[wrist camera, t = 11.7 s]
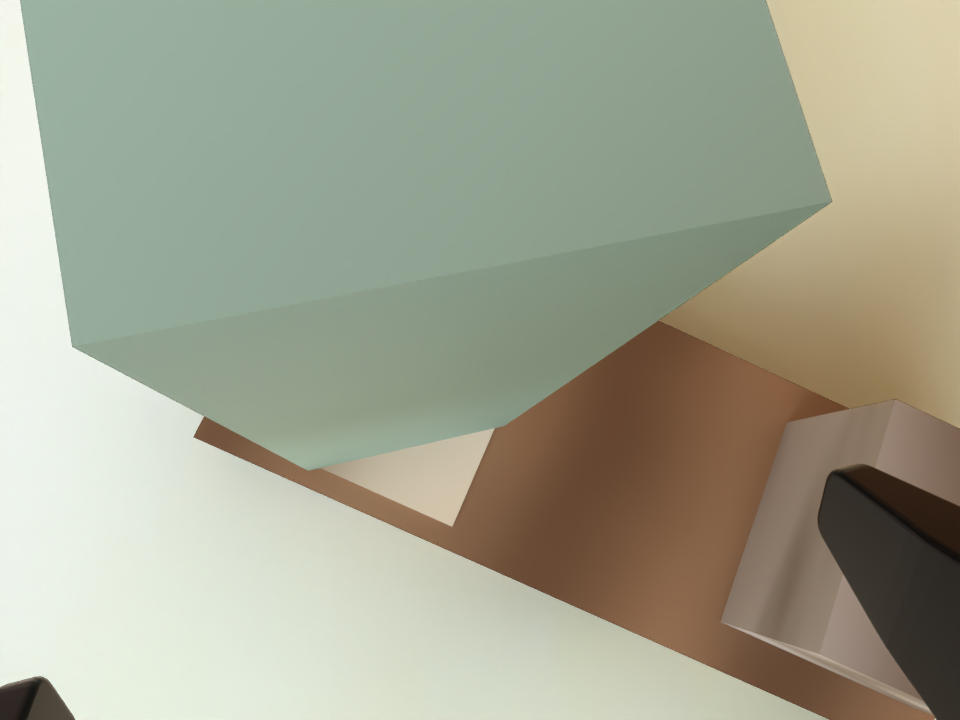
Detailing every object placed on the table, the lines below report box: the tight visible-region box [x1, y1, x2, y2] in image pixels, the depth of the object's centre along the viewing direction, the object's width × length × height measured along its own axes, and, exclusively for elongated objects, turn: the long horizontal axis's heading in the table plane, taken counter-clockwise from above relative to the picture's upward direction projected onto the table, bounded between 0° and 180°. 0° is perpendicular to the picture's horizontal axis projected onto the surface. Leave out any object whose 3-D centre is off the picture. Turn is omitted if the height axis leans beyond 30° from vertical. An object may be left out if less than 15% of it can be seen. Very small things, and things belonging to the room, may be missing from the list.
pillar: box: [20, 0, 832, 471], centre depth 11 cm, size 4×4×13 cm
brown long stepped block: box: [194, 321, 960, 720], centre depth 17 cm, size 18×7×6 cm, turn 66°
